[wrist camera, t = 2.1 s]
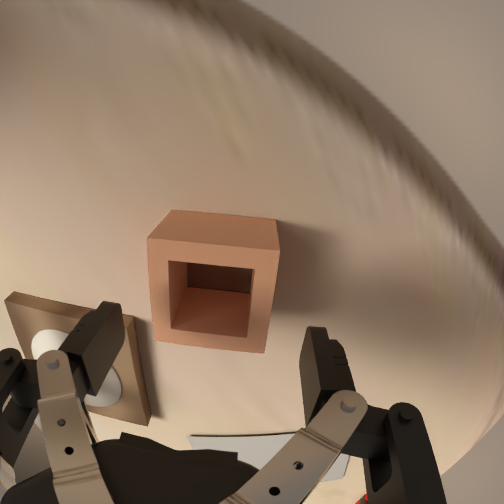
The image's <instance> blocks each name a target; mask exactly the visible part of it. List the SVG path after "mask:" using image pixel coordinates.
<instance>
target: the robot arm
mask: <svg viewBox="0 0 504 504" xmlns="http://www.w3.org/2000/svg"><path fill="white" fill-rule="evenodd" d="M124 340H125V328H124V322H123V315H122V309H121V305H120V304H119V303H113V302H107V301H103V302H102V303H101V304H100V305H99V307H98V308H97V309H96V311H95V310H91V311H90V312H88V313H87V314H85V315H83V317H82V318H81V319H80V320H79V322H78V324H76V326H75V327H74V328H73V330H72V331H71V332H70V333H69V335H68V336H67V337H66V339H65V340H64V341H63V343H62V344H61V346H60V347H59V348H58V350H50V351H47V352H45V353H43V354H42V355H41V356H40V357H39V358H38V359H23V358H22V356H21V354H20V352H19V351H18V350H17V349H14V348H7V349H3V350H1V351H0V504H303V502H304V501H305V500H306V499H307V498H308V496H309V495H310V494H311V493H312V491H313V490H314V489H315V487H316V486H317V485H318V484H319V482H320V481H321V480H322V478H323V477H324V476H325V475H326V473H327V472H328V471H329V469H330V468H331V467H332V465H333V464H334V462H335V461H336V460H337V458H338V457H339V456H340V454H341V453H342V454H346V455H351V456H355V457H360V458H362V459H363V466H364V474H365V482H366V490H367V499H368V504H447V503H446V498H445V494H444V490H443V486H442V482H441V478H440V474H439V471H438V467H437V463H436V460H435V456H434V453H433V450H432V446H431V443H430V440H429V436H428V433H427V430H426V427H425V424H424V421H423V418H422V415H421V413H420V411H419V410H418V409H417V408H416V407H415V406H413V405H411V404H409V403H404V402H400V403H396V404H394V405H393V406H391V408H390V409H389V410H386V409H382V408H377V407H373V406H370V405H368V404H367V402H366V400H365V399H364V397H363V396H362V395H360V394H359V393H357V392H356V389H355V386H354V382H353V379H352V375H351V372H350V368H349V366H348V361H347V359H346V354H345V351H344V348H343V347H342V345H341V344H340V343H339V342H338V341H337V340H331V339H329V337H328V333H327V330H326V328H325V327H312V326H308V327H307V330H306V334H305V338H304V342H303V346H302V350H301V354H300V361H299V368H300V377H301V386H302V395H303V404H304V414H305V424H306V428H304V429H303V428H301V429H299V430H298V431H297V432H296V433H295V434H294V436H293V437H292V438H291V439H290V440H289V441H288V442H287V443H286V444H285V445H284V446H283V447H282V448H281V449H280V450H279V451H278V452H277V454H276V455H275V456H274V457H273V458H272V459H271V460H270V461H269V462H268V463H267V464H266V465H265V466H264V467H263V468H261V469H260V470H259V469H257V468H256V467H254V466H252V465H250V464H248V463H246V462H243V461H240V460H238V452H230V451H221V450H212V449H201V450H181V451H179V450H174V449H171V448H169V447H167V446H164V445H162V444H160V443H158V442H155V441H153V440H151V439H149V438H145V437H140V436H136V435H132V434H128V433H124V432H122V433H121V436H120V439H111V440H104V441H101V442H99V441H98V438H97V436H96V433H95V431H94V428H93V425H92V422H91V419H90V416H89V413H88V410H87V407H86V403H85V401H84V398H85V396H86V394H88V395H92V396H95V397H96V396H97V394H98V392H99V390H100V388H101V386H102V384H103V382H104V380H105V378H106V376H107V374H108V372H109V370H110V368H111V367H112V365H113V363H114V361H115V359H116V357H117V355H118V353H119V352H120V350H121V348H122V346H123V344H124ZM9 394H10V395H11V396H12V398H11V399H10V401H9V402H8V405H7V406H6V408H5V410H4V411H3V413H2V407H3V404H4V403H5V401H6V399H7V398H8V396H9ZM38 413H39V415H40V421H41V426H42V431H43V435H44V441H45V445H46V449H47V453H48V458H49V461H50V465H51V467H50V468H48V469H46V470H44V471H42V472H40V473H38V474H36V475H34V476H32V477H30V478H28V479H26V480H24V481H22V482H20V483H17V484H16V483H15V474H14V470H13V466H14V464H15V462H16V460H17V457H18V455H19V453H20V450H21V448H22V446H23V444H24V442H25V440H26V438H27V435H28V433H29V431H30V429H31V427H32V425H33V423H34V421H35V419H36V417H37V415H38Z"/></svg>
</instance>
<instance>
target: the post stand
mask: <svg viewBox="0 0 504 504" xmlns="http://www.w3.org/2000/svg"><path fill="white" fill-rule="evenodd" d="M4 301H5V304H6V307H7V311H8V313H9V316H10V319H11V322H12V325H13V328H14V330H15V333H16V336H17V338H18V341H19V343H20V346H21V348H22V351H23V353H24V355H25V358H26V359H38V358H39V357H40V356H41V355H42V354H43V353H45V352H47V351H50V350H58V348H59V347H60V346H61V344H62V343H63V341H64V340H65V339H66V337H67V336H68V335H69V333H70V332H71V331H72V330H73V328H74V327H75V326H76V324H78V322H79V320H80V319H81V318H82V317H83V315H85V314H87V313H88V312H90V311H91V310H95V311H96V309H90V308H85V307H80V306H75V305H70V304H66V303H61V302H56V301H52V300H47V299H43V298H39V297H34V296H30V295H26V294H22V293H18V292H13V293H12V294H11V295H9V296H8V297H7V298H6V299H5V300H4ZM122 315H123V314H122ZM123 322H124V328H125V340H124V344H123V346H122V348H121V350H120V352H119V353H118V355H117V357H116V359H115V361H114V363H113V365H112V367H111V368H110V370H109V372H108V374H107V376H106V378H105V380H104V382H103V384H102V386H101V388H100V390H99V392H98V394H97V396H96V397H95V396H92V395H88V394H86V396H85V398H84V401H85V403H86V407H87V410H88V411H89V412H93V413H96V414H100V415H103V416H107V417H110V418H114V419H118V420H122V421H126V422H130V423H135V424H139V425H144V426H148V424H149V421H150V417H151V411H150V406H149V402H148V397H147V392H146V388H145V383H144V377H143V372H142V367H141V361H140V355H139V349H138V343H137V337H136V330H135V323H134V316H129V315H123ZM35 423H36V425H37V426H38V427H39V428H40V429H41V430H42V426H41V421H40V415H39V413H38V415H37V417H36V419H35Z"/></svg>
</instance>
